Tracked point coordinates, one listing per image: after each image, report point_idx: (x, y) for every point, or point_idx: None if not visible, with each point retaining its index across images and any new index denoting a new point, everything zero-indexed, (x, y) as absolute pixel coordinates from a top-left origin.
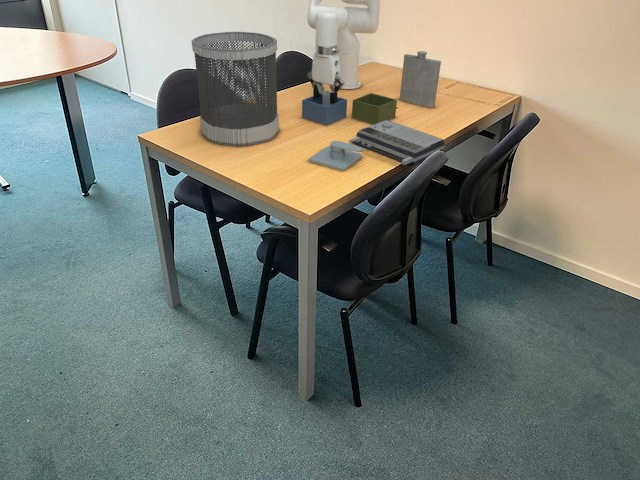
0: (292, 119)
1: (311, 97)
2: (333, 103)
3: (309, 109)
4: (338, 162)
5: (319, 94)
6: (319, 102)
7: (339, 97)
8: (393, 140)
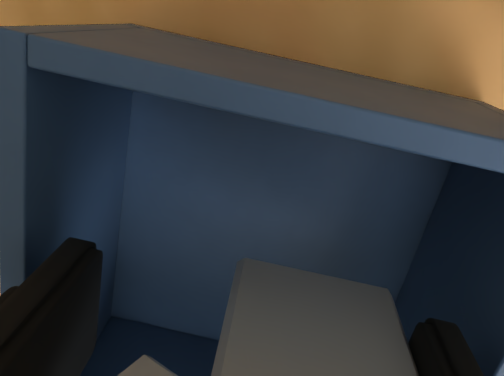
0: None
1: None
2: (401, 331)
3: None
4: None
5: (81, 288)
6: (92, 121)
7: (446, 134)
8: None
